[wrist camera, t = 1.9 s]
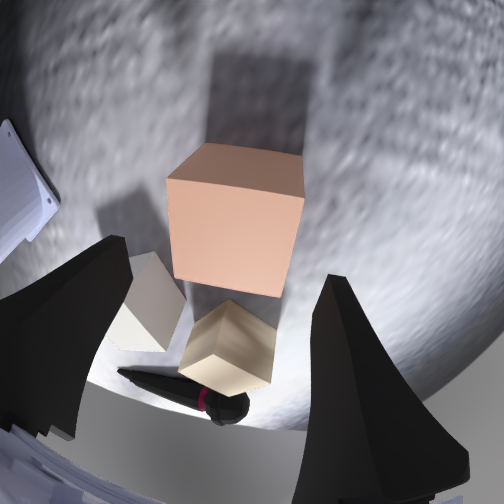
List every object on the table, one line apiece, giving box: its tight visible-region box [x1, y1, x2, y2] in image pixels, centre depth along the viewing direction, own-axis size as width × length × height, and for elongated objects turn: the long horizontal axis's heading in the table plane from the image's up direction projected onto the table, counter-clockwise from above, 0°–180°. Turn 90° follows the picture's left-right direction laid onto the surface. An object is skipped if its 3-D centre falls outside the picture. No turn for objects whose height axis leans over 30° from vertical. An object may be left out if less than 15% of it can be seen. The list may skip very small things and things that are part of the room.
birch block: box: [178, 299, 277, 397], centre depth 20 cm, size 5×5×5 cm
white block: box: [105, 251, 187, 352], centre depth 19 cm, size 5×5×5 cm
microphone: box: [117, 369, 250, 426], centre depth 30 cm, size 6×6×20 cm
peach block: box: [166, 143, 305, 298], centre depth 13 cm, size 5×5×5 cm
